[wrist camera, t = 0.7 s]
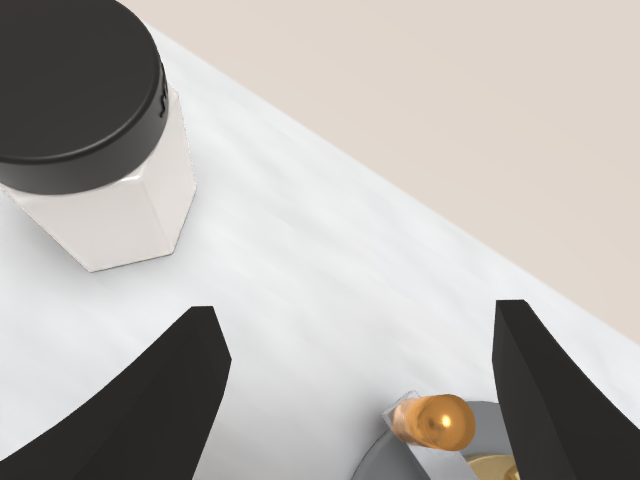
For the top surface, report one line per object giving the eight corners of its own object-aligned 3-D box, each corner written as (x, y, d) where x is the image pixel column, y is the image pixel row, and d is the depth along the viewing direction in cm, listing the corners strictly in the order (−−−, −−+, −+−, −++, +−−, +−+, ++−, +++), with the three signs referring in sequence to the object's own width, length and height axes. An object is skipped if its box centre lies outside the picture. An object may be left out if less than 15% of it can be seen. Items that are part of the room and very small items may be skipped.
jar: (225, 210, 29) (214, 81, 18) (115, 302, 26) (21, 218, 15) (127, 116, 30) (60, -59, 19) (12, 195, 27) (-146, 43, 16)
